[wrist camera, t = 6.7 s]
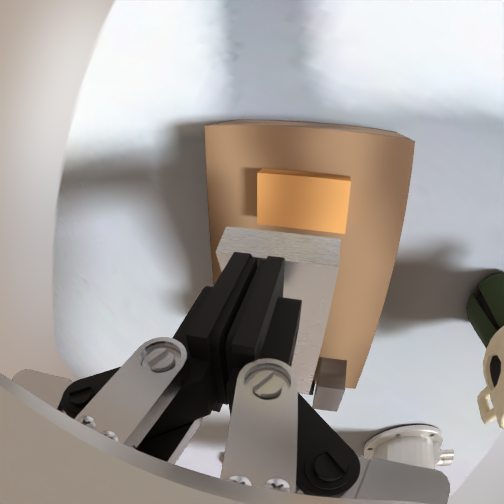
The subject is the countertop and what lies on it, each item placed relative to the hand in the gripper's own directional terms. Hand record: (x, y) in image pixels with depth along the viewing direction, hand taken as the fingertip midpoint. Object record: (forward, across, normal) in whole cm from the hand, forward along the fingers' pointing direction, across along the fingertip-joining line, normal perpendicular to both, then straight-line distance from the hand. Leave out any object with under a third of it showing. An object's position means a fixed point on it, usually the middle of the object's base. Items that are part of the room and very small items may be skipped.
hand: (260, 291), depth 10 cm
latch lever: (+4, -1, +6) cm, 7 cm away
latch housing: (+14, -1, +6) cm, 16 cm away
